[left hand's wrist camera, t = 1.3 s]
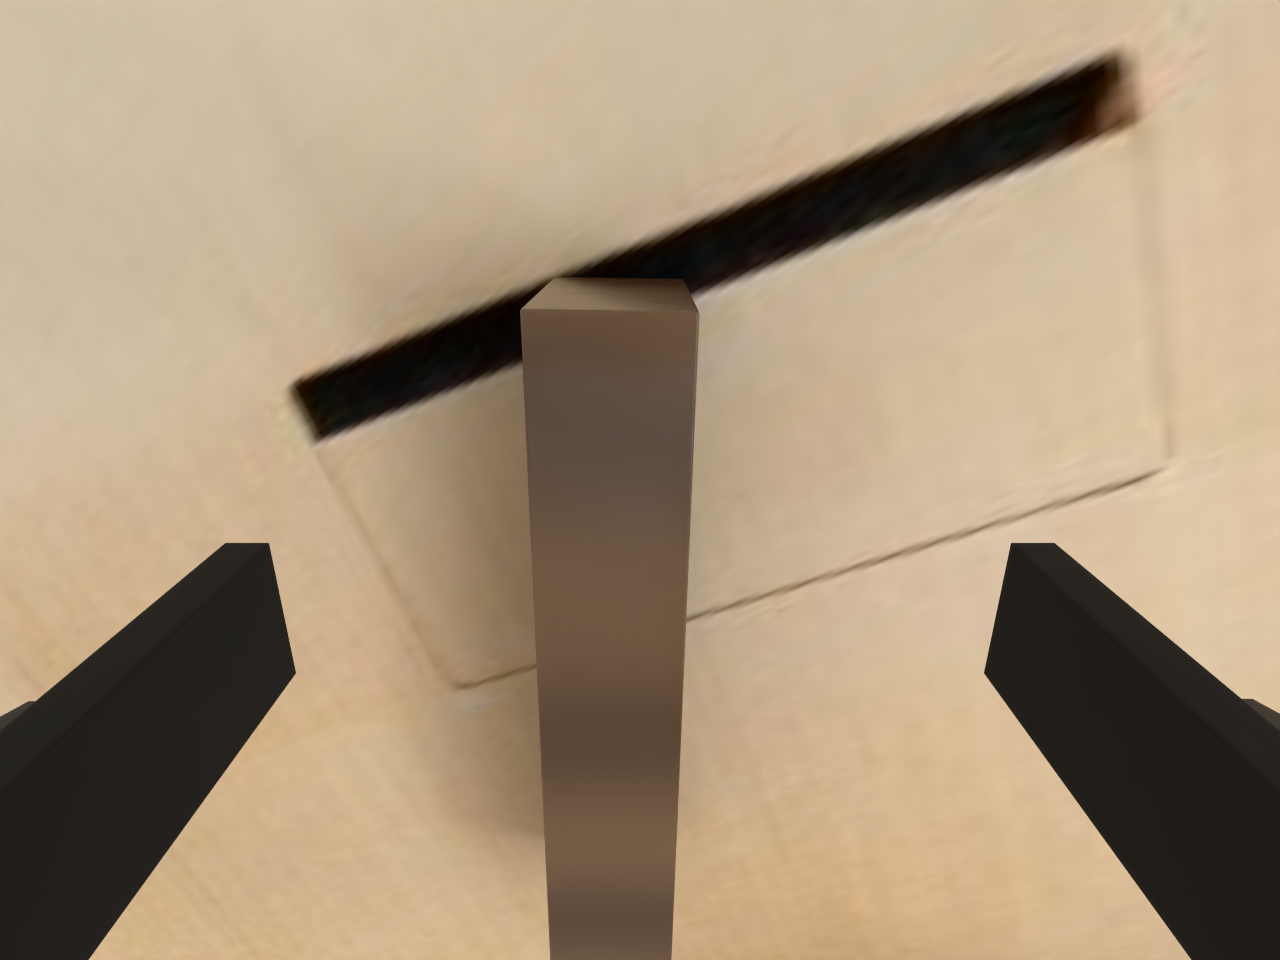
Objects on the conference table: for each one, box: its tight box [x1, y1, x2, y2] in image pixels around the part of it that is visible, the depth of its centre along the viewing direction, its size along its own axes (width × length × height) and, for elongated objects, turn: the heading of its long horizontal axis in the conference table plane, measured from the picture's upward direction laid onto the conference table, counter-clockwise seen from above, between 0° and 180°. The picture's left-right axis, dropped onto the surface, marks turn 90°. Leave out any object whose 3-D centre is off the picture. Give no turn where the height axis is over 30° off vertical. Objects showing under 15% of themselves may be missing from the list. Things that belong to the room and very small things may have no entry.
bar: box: [520, 277, 699, 960], centre depth 28 cm, size 28×5×8 cm, turn 179°
